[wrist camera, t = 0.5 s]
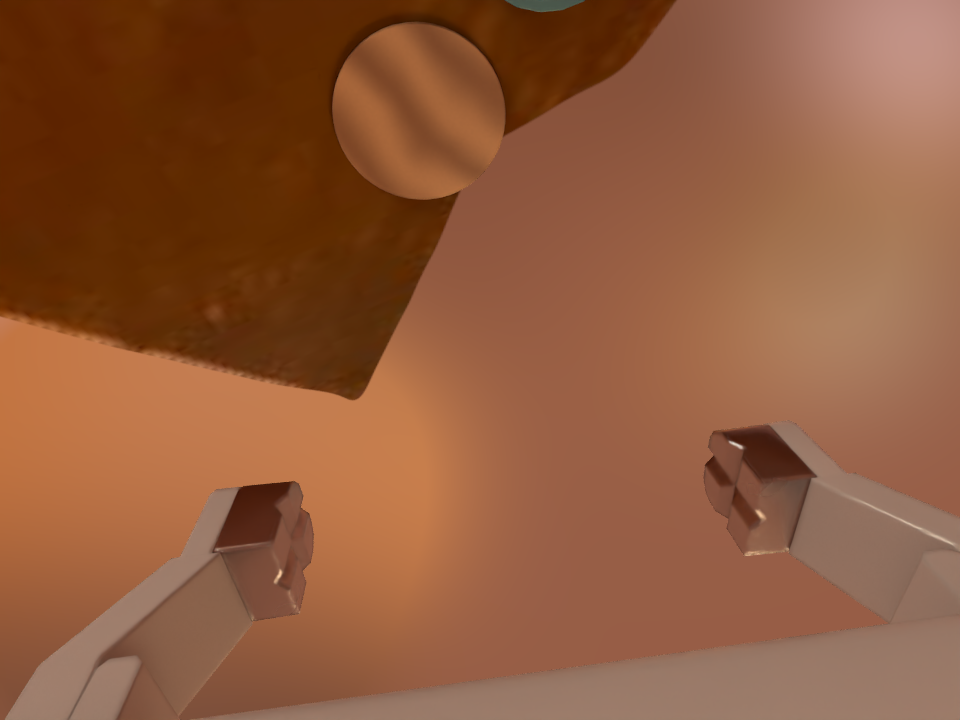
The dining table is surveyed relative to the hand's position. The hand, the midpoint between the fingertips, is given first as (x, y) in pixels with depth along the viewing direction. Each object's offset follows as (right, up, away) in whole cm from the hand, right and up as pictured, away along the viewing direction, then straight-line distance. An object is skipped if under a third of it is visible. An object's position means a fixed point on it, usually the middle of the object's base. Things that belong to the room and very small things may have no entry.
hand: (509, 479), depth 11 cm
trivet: (-6, +25, +40) cm, 48 cm away
